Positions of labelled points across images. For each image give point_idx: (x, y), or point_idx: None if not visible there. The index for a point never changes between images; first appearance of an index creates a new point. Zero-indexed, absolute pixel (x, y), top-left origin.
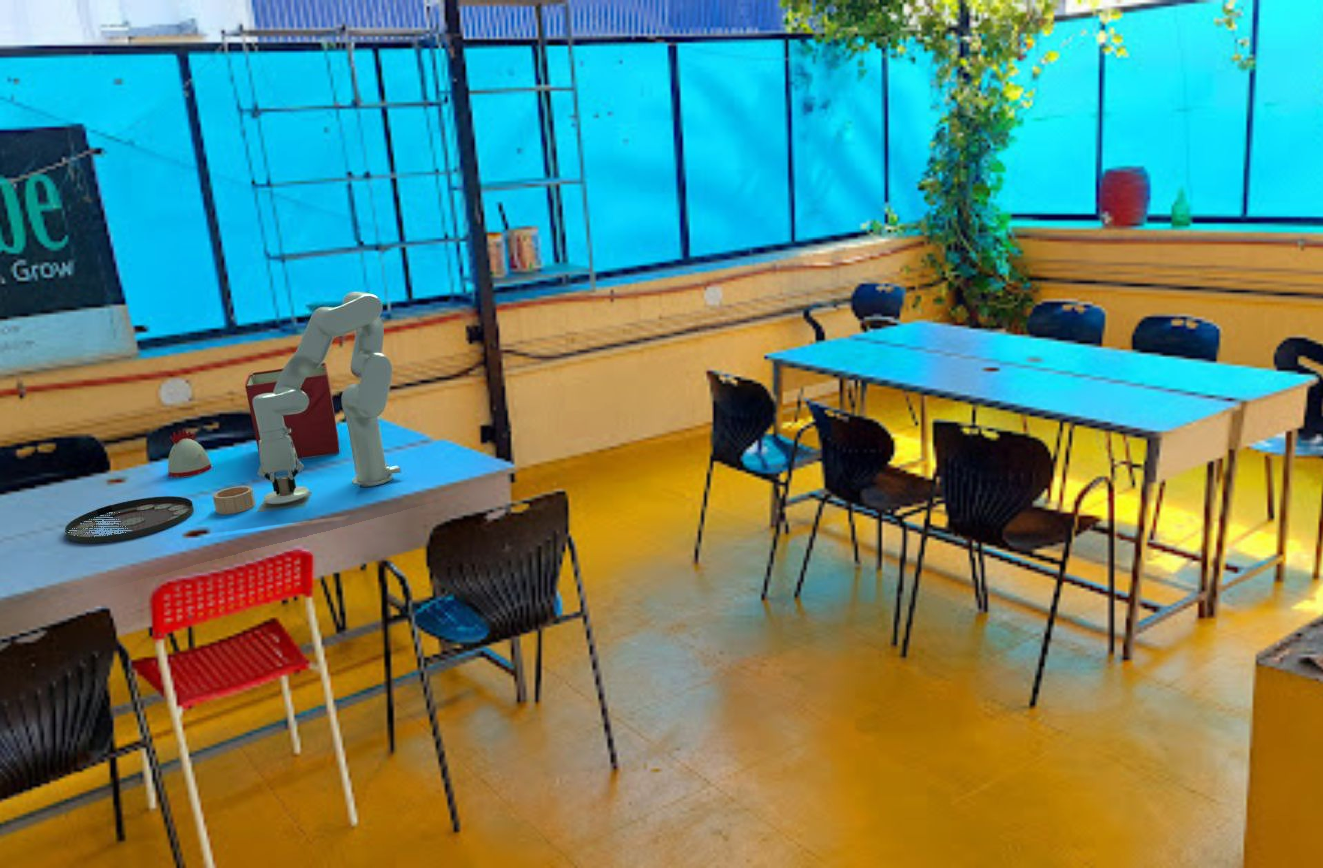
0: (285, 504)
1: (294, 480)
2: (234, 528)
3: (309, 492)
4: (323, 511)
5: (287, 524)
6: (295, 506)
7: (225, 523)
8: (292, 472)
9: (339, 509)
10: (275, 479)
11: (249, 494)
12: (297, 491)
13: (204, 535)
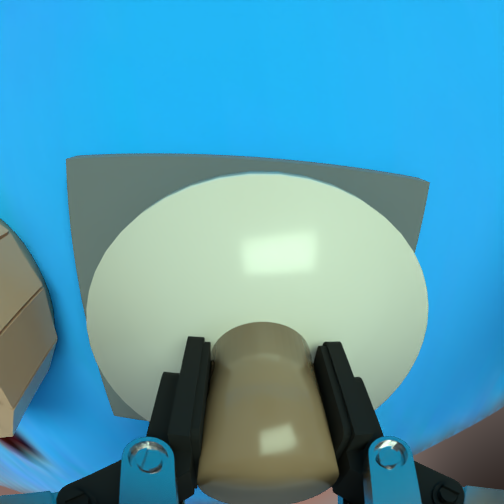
0: None
1: (374, 431)
2: (99, 467)
3: (411, 188)
4: (400, 438)
5: None
6: None
7: (35, 417)
8: (398, 494)
9: (444, 427)
10: (190, 493)
11: (20, 402)
12: (351, 347)
13: (41, 461)
